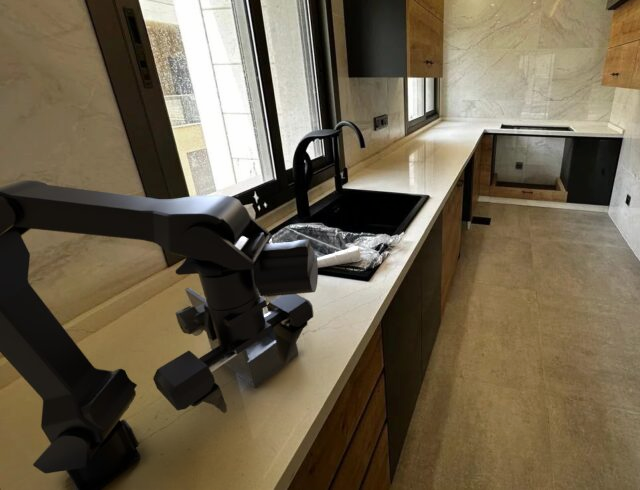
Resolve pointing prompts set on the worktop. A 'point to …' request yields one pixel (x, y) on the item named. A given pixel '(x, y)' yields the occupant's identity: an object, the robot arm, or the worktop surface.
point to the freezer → (257, 360)
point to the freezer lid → (199, 300)
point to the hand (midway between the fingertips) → (256, 385)
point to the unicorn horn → (340, 257)
